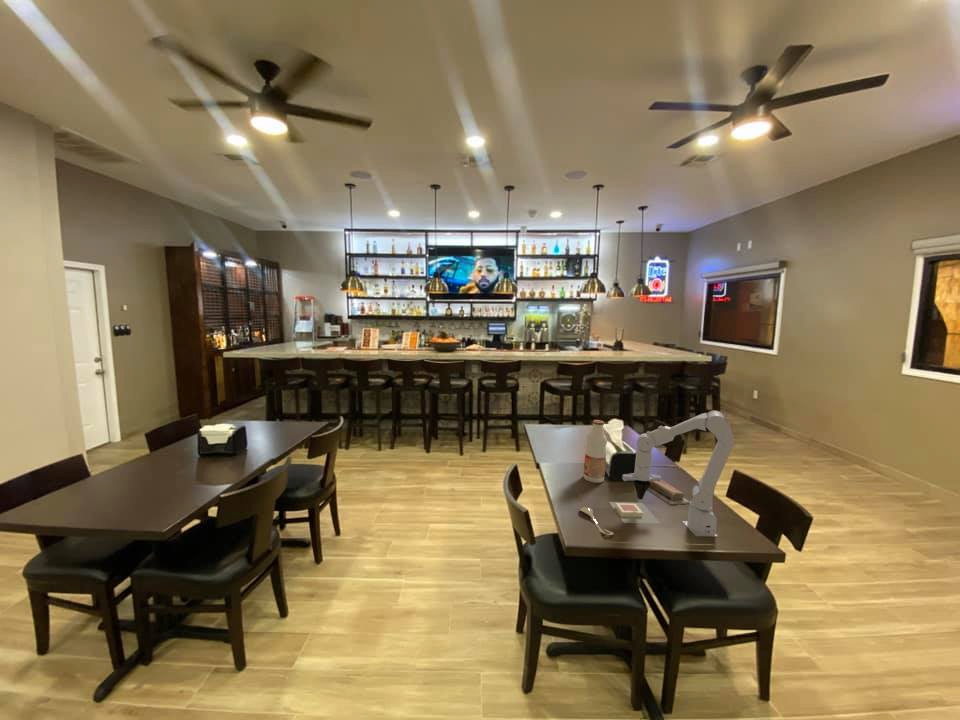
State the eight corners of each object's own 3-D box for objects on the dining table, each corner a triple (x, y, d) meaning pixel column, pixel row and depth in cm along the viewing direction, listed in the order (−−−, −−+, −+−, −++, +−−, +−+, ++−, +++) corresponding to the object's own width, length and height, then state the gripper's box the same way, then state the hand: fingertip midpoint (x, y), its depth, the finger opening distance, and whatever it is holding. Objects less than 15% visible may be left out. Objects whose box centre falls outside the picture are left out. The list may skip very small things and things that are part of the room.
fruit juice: (596, 485, 179) (601, 425, 175) (579, 477, 186) (583, 420, 182) (608, 480, 185) (613, 422, 181) (590, 473, 192) (595, 417, 188)
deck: (642, 512, 151) (622, 511, 151) (642, 517, 151) (621, 516, 151) (635, 503, 158) (615, 503, 158) (634, 507, 158) (615, 507, 158)
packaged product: (642, 477, 179) (660, 475, 182) (641, 487, 180) (659, 485, 183) (671, 495, 162) (691, 493, 165) (670, 506, 163) (689, 504, 165)
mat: (660, 524, 147) (660, 523, 147) (623, 523, 147) (624, 522, 147) (642, 503, 163) (642, 502, 163) (608, 502, 163) (608, 501, 162)
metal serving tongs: (618, 528, 137) (606, 529, 136) (617, 537, 137) (605, 539, 136) (588, 503, 156) (577, 504, 155) (587, 512, 156) (576, 513, 155)
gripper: (656, 461, 157) (653, 493, 158) (620, 460, 156) (617, 492, 158) (665, 468, 150) (661, 502, 151) (627, 467, 149) (624, 501, 151)
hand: (639, 498), depth 154 cm, fingers closed
